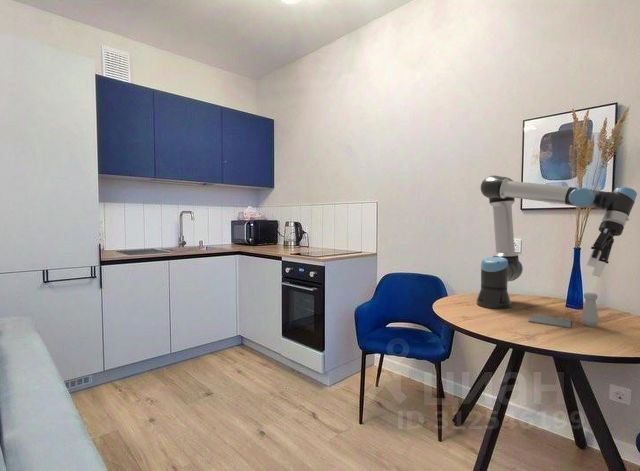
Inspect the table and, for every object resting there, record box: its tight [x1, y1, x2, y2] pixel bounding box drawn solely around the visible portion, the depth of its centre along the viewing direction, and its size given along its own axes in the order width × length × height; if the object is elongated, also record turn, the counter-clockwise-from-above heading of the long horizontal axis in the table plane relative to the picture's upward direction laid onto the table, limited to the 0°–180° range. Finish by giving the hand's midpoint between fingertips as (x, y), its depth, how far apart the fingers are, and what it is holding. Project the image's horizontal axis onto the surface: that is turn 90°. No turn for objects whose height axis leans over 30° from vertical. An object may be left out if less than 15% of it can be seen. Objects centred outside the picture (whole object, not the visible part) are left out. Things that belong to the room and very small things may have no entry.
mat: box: [528, 314, 572, 329], centre depth 142 cm, size 14×12×1 cm
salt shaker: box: [580, 292, 600, 328], centre depth 137 cm, size 6×6×13 cm
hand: (593, 271), depth 139 cm, fingers open, 13 cm apart
